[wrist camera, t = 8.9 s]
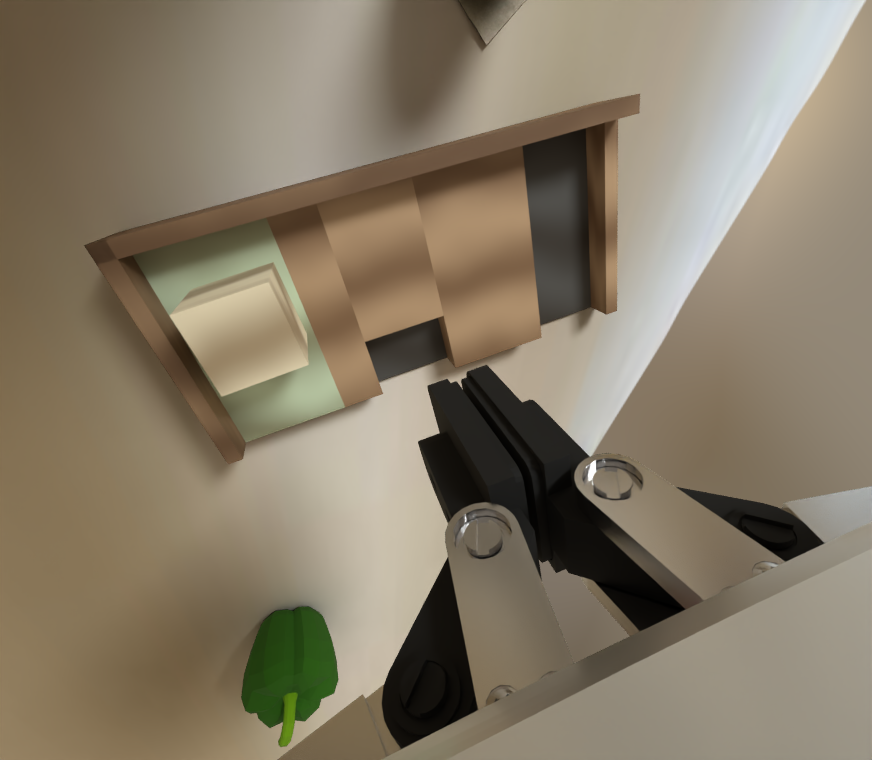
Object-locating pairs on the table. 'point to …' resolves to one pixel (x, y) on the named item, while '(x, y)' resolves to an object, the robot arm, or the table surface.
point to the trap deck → (391, 263)
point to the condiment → (490, 14)
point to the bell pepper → (289, 669)
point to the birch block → (243, 329)
